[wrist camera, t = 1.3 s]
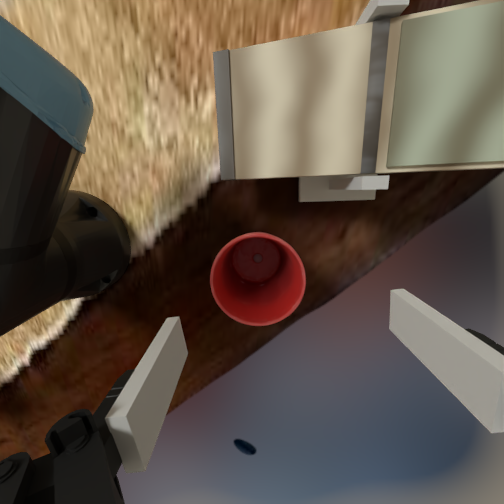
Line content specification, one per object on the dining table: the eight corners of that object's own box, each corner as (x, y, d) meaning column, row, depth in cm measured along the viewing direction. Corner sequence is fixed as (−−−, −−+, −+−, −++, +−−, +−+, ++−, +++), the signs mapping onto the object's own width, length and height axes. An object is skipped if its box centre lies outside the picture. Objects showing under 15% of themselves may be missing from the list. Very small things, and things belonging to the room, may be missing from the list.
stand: (298, 201, 33) (319, 207, 22) (301, 48, 28) (330, -37, 18) (439, 196, 33) (530, 201, 22) (465, 41, 28) (596, -50, 17)
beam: (228, 180, 29) (220, 179, 26) (222, 64, 26) (212, 51, 23) (551, 166, 21) (581, 163, 18) (598, -6, 18) (643, -36, 15)
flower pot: (293, 220, 34) (309, 232, 24) (291, 291, 37) (304, 326, 27) (219, 221, 34) (206, 233, 25) (223, 291, 37) (212, 327, 27)
